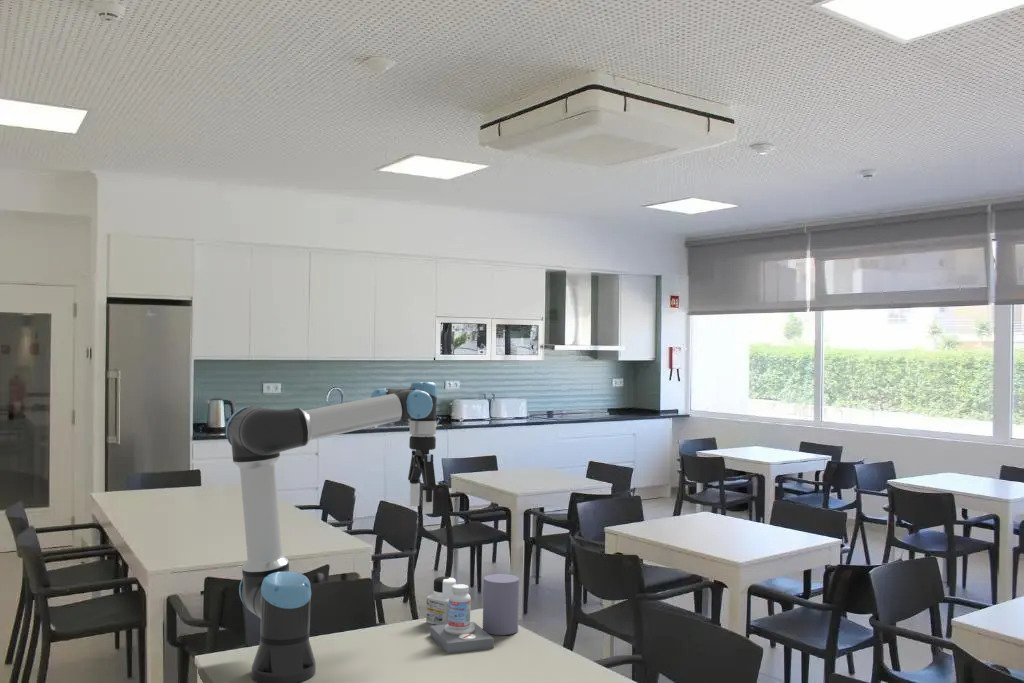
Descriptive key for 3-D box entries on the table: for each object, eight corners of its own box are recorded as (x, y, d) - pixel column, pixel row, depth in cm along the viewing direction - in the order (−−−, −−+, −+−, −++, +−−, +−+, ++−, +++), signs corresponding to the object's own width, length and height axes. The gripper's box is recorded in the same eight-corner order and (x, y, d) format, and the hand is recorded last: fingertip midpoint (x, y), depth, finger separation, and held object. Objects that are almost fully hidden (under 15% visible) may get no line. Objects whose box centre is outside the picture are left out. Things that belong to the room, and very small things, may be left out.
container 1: (425, 622, 251) (426, 578, 252) (442, 616, 258) (443, 573, 258) (445, 627, 247) (446, 582, 247) (462, 621, 253) (463, 577, 254)
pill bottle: (444, 628, 234) (445, 587, 235) (453, 622, 240) (454, 582, 240) (464, 631, 232) (465, 589, 232) (473, 625, 238) (474, 584, 238)
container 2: (490, 623, 252) (492, 572, 252) (523, 628, 248) (524, 576, 249) (476, 633, 242) (478, 580, 243) (510, 638, 239) (511, 584, 239)
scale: (447, 653, 225) (447, 639, 225) (430, 635, 239) (430, 622, 240) (493, 648, 229) (493, 634, 230) (473, 630, 244) (473, 618, 244)
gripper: (448, 438, 234) (446, 516, 233) (423, 432, 257) (421, 502, 256) (422, 439, 231) (420, 517, 230) (399, 432, 254) (397, 503, 254)
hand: (420, 509), depth 243 cm, fingers open, 13 cm apart
